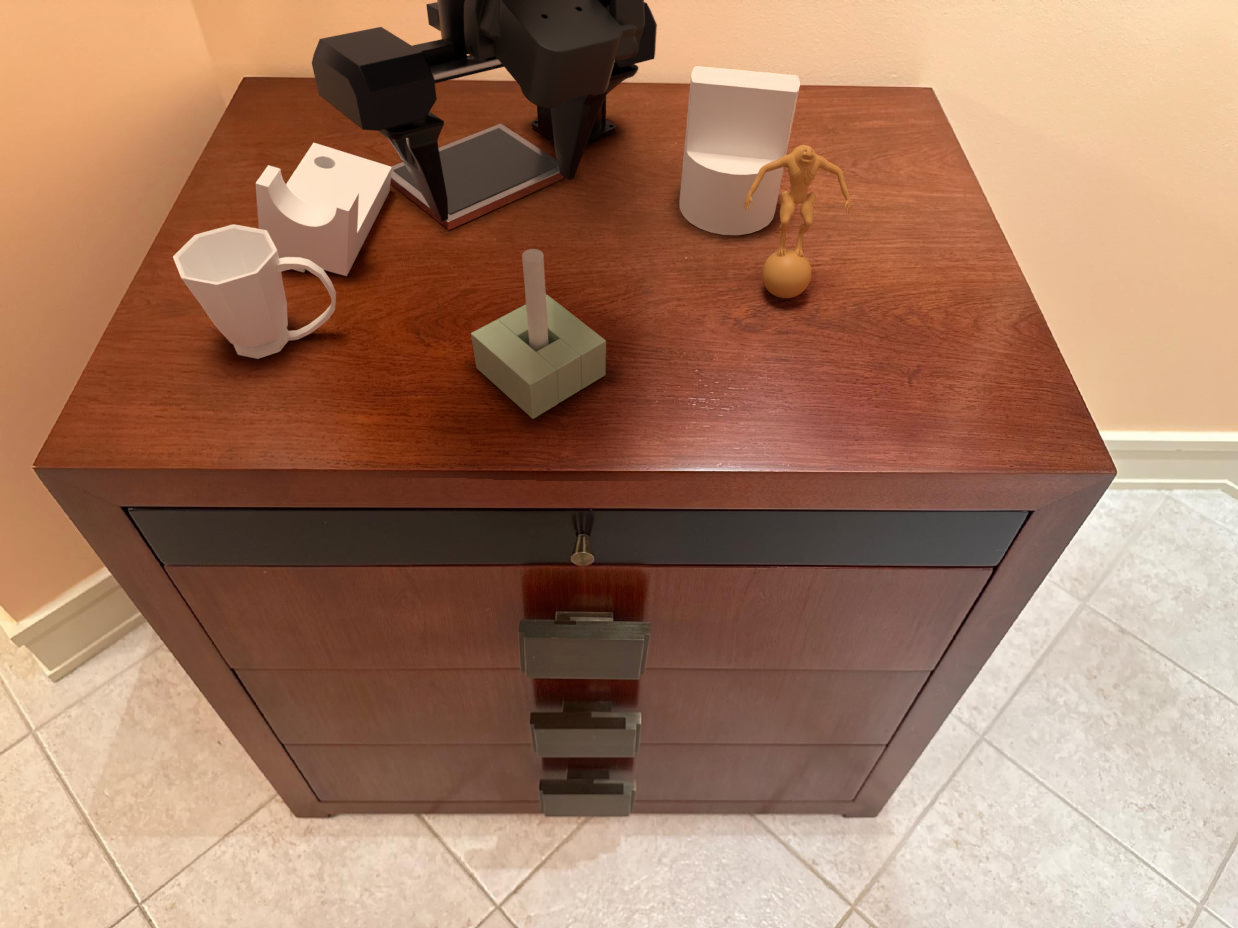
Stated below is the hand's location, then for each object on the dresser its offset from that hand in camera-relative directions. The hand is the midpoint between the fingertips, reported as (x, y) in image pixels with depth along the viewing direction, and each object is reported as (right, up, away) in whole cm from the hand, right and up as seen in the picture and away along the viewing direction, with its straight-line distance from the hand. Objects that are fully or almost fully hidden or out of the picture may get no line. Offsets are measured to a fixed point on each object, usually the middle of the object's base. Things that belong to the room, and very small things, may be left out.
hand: (506, 197), depth 50 cm
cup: (-19, -7, +13) cm, 24 cm away
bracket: (-18, +4, +22) cm, 29 cm away
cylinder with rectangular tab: (+17, +7, +26) cm, 32 cm away
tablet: (-7, +11, +28) cm, 31 cm away
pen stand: (+1, -10, +11) cm, 15 cm away
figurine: (+21, -2, +19) cm, 28 cm away
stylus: (+1, -10, +11) cm, 15 cm away
